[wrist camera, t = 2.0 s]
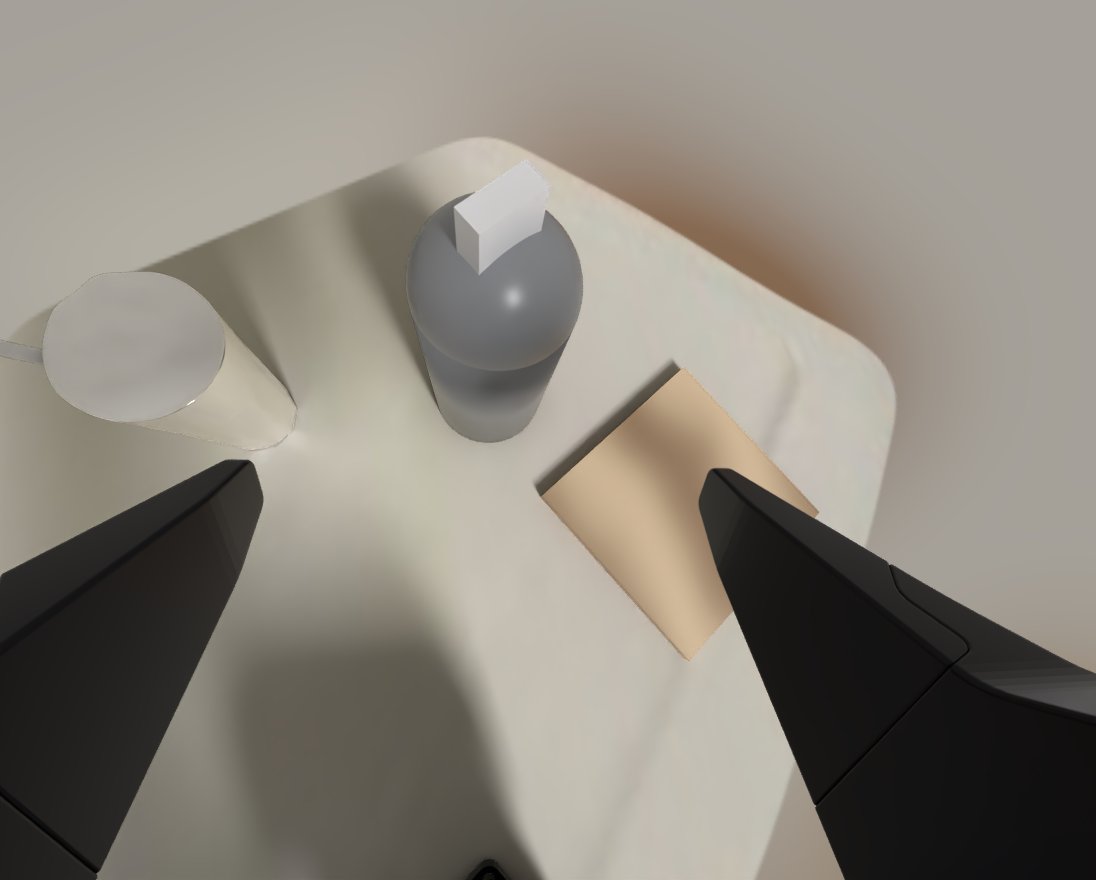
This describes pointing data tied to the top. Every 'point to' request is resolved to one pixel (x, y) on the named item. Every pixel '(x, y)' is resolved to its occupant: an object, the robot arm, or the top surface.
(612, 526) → the cork mat
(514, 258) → the grey bottle
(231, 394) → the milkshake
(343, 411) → the top surface
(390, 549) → the top surface
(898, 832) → the robot arm
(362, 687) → the top surface
